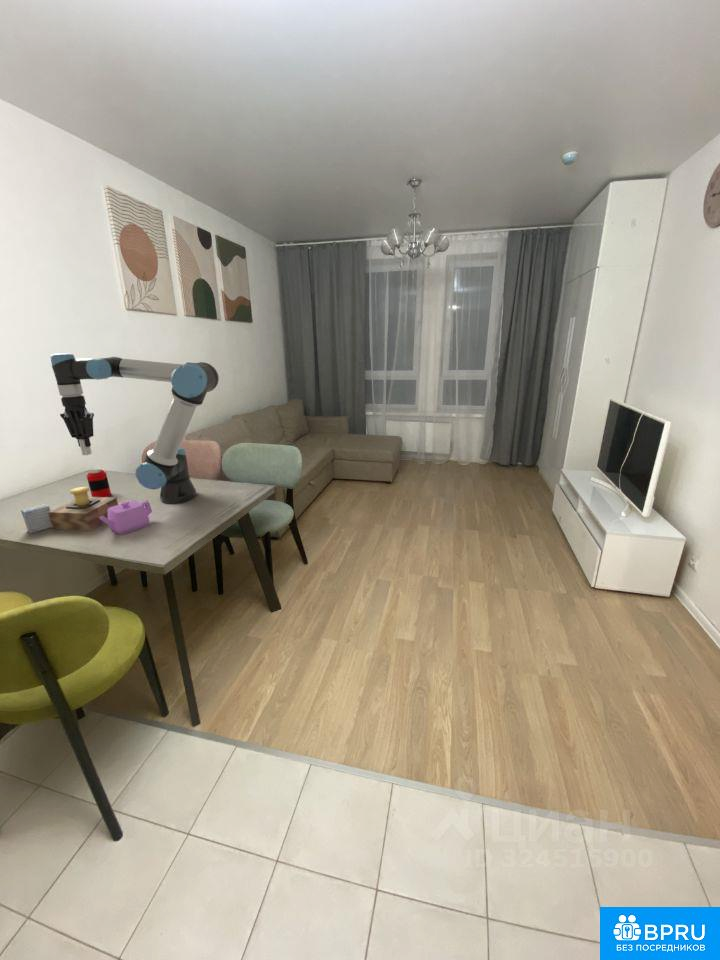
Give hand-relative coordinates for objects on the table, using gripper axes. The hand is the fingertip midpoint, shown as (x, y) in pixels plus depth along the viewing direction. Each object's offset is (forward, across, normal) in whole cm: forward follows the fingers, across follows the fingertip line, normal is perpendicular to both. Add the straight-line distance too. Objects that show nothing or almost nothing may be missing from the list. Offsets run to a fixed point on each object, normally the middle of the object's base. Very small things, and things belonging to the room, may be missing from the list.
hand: (87, 454), depth 162 cm
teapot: (+25, -24, +15) cm, 38 cm away
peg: (+19, -3, +11) cm, 23 cm away
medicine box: (+25, +10, +19) cm, 33 cm away
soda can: (+25, +12, -15) cm, 31 cm away
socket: (+24, -3, +11) cm, 27 cm away
